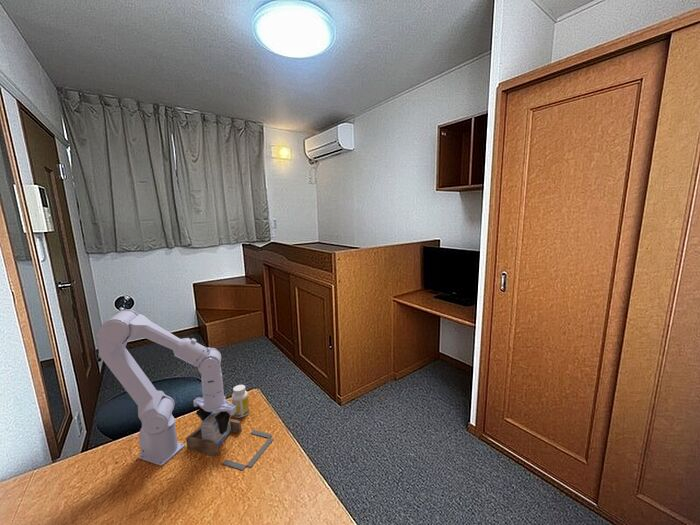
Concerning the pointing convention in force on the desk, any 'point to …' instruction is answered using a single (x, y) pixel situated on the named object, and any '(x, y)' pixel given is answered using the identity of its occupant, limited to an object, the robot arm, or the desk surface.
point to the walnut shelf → (208, 447)
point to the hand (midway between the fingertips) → (216, 430)
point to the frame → (257, 455)
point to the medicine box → (213, 430)
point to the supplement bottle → (240, 401)
